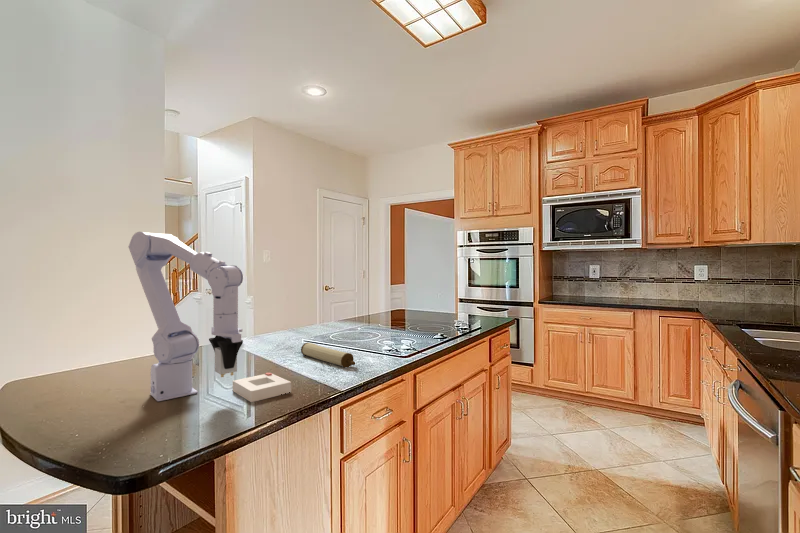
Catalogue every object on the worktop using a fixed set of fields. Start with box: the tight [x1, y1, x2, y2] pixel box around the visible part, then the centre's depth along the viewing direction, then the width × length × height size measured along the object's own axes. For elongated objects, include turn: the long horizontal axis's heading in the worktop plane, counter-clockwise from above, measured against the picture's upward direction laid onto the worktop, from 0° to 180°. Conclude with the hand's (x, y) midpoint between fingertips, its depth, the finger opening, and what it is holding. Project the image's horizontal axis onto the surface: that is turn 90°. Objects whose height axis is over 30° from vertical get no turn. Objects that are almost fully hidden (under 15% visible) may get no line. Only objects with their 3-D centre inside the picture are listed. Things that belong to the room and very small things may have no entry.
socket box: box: [232, 372, 292, 403], centre depth 107 cm, size 11×12×3 cm
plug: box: [214, 347, 238, 378], centre depth 101 cm, size 4×4×8 cm
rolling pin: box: [300, 342, 356, 369], centre depth 141 cm, size 32×6×5 cm, turn 45°
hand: (225, 366), depth 101 cm, fingers closed on plug, 4 cm apart
